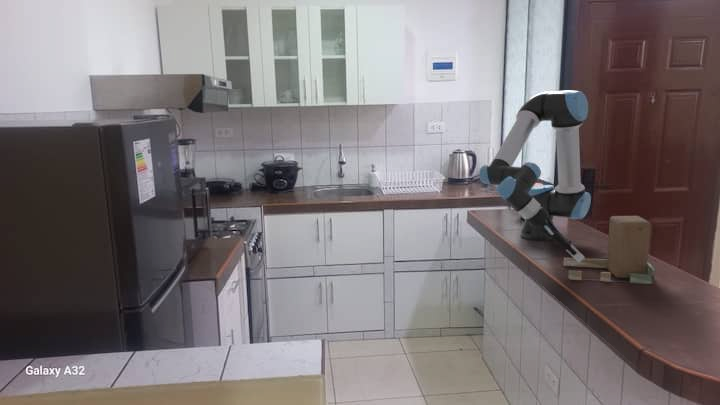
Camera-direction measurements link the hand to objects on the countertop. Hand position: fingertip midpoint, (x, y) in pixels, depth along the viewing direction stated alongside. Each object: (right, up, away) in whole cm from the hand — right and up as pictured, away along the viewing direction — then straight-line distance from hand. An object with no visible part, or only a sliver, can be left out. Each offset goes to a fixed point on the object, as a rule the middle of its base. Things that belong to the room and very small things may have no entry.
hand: (581, 259), depth 172 cm
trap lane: (+8, -5, -1) cm, 10 cm away
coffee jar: (+11, +12, +82) cm, 83 cm away
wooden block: (+15, -5, -2) cm, 16 cm away
